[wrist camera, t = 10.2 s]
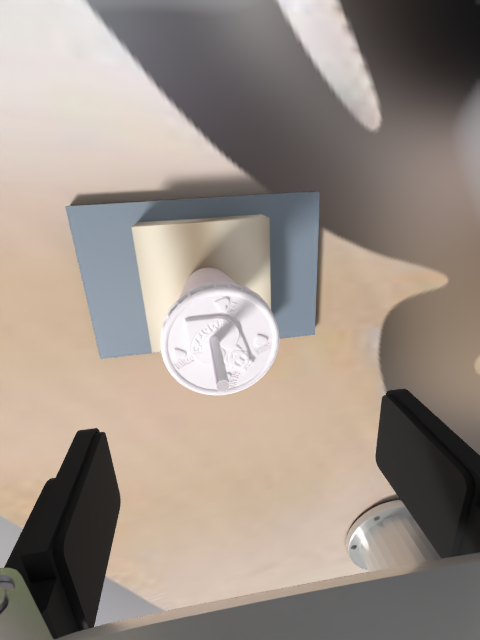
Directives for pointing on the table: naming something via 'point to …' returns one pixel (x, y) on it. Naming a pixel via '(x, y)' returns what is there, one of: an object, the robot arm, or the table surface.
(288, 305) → the board
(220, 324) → the smoothie
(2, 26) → the table surface
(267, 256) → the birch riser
